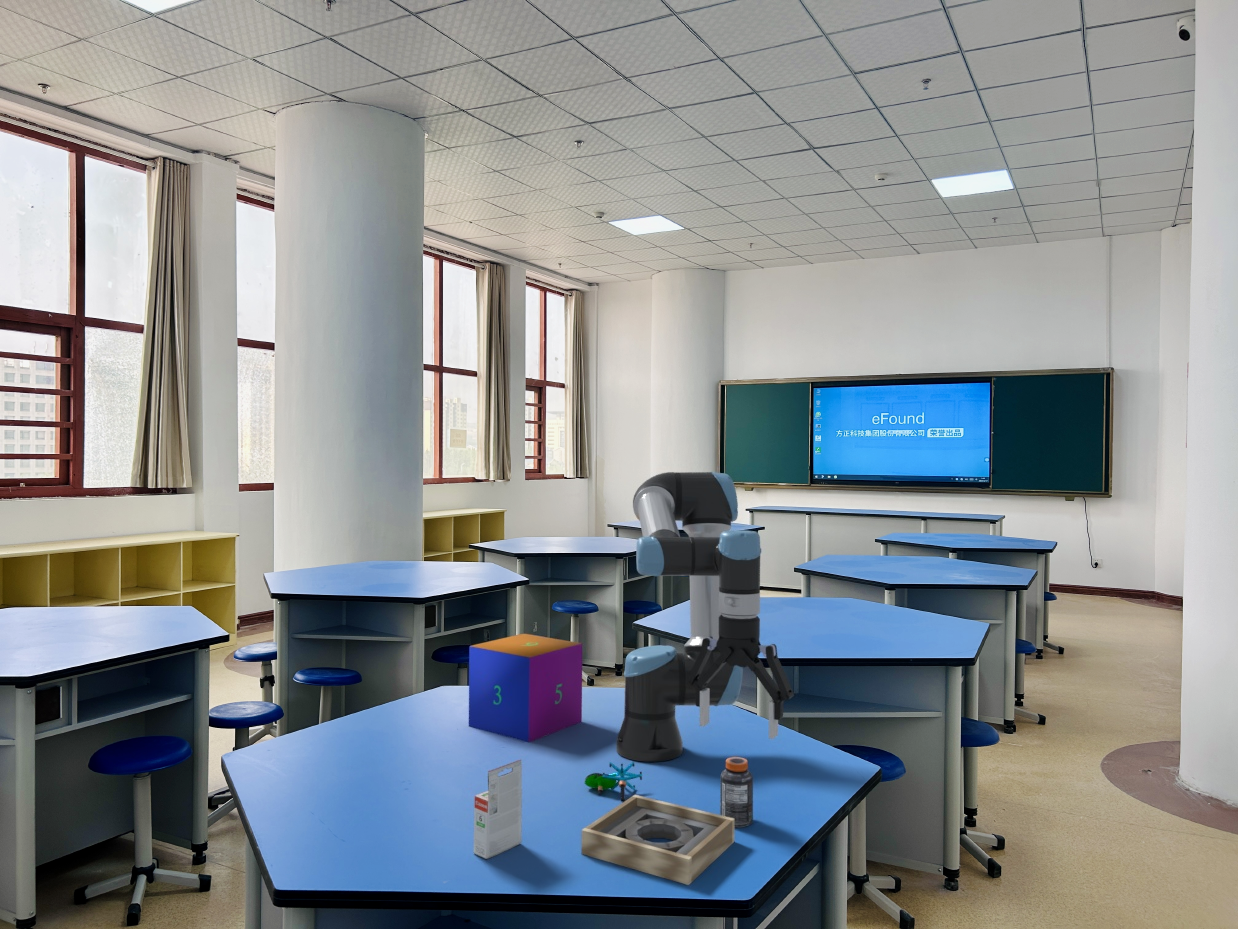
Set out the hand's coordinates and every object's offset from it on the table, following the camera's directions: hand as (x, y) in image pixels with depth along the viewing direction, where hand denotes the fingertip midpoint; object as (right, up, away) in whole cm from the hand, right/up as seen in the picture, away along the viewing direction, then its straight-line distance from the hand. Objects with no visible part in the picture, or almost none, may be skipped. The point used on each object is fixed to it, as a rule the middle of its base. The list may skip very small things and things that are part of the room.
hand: (738, 730), depth 156 cm
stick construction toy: (-23, -17, +12) cm, 31 cm away
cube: (-45, -17, +57) cm, 75 cm away
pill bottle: (0, -17, 0) cm, 17 cm away
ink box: (-42, -17, -12) cm, 47 cm away
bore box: (-15, -17, -11) cm, 25 cm away
